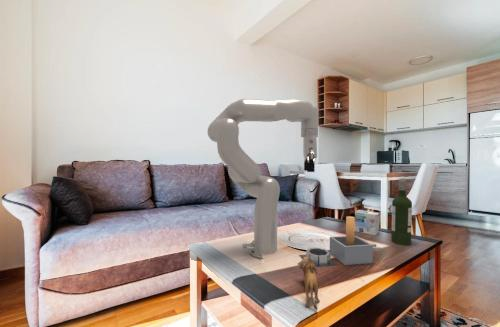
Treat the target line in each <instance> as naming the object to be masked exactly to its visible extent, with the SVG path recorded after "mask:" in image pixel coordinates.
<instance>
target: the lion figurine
mask: <svg viewBox="0 0 500 327" xmlns="http://www.w3.org/2000/svg"><path fill="white" fill-rule="evenodd" d="M297 266H298V268H299V269H300V270H302V272H303V276H304V277H303V278H304V279H303V283H304V288H305V290H304V291H305V307H310V306H311V304H310V299H311V303H312V305H313V308H314V310H316V311H317V310H318V307H317V304H316V303H319V302H321V300H320V298H319V297H318V294H319V287H318V286H319V285H318V278H317V276H318V271H317V270H318V269H317V267H315V265H314V263H313V261H312V260H311V259H310V258H309V257H303V259H301V260H300V261H299V262H298V263H297ZM313 293H314V296H313ZM309 295H310V296H309ZM314 299H315V300H314ZM315 302H316V303H315Z"/></svg>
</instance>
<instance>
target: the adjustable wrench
mask: <svg viewBox="0 0 500 327" xmlns="http://www.w3.org/2000/svg"><path fill="white" fill-rule="evenodd" d="M319 241H325V239H322V238H321V239H319ZM369 243H370V244H372V245H373V252H379V251H381V246H377V244H376V243H372V242H369Z"/></svg>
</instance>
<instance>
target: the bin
mask: <svg viewBox="0 0 500 327" xmlns="http://www.w3.org/2000/svg"><path fill="white" fill-rule="evenodd" d="M370 243H371V242H368V241H366V240H365V239H363V238H361V237H359V236H357V235H355V239H354V245H353V246H346V235H342V236H341V235H340V236H330V237H329V252H330V256H331V255H332V256H333V258H335V259H337V260H338V261H339V262H340V263H342V264H343V265H344V266H351V265H352V266H353V265H364V264H373V263H374V262H373V260H374V258H373V257H374V251H373V245H372V244H370Z"/></svg>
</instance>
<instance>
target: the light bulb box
mask: <svg viewBox="0 0 500 327" xmlns="http://www.w3.org/2000/svg"><path fill="white" fill-rule="evenodd" d="M354 217H355V233H356V232H357V233H362V234H366V235H372V236H377V235H378V234H379V227H380V226H379V225H380V212H376V211H370V210H363V209H358V210H356V211H355V212H354Z"/></svg>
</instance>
